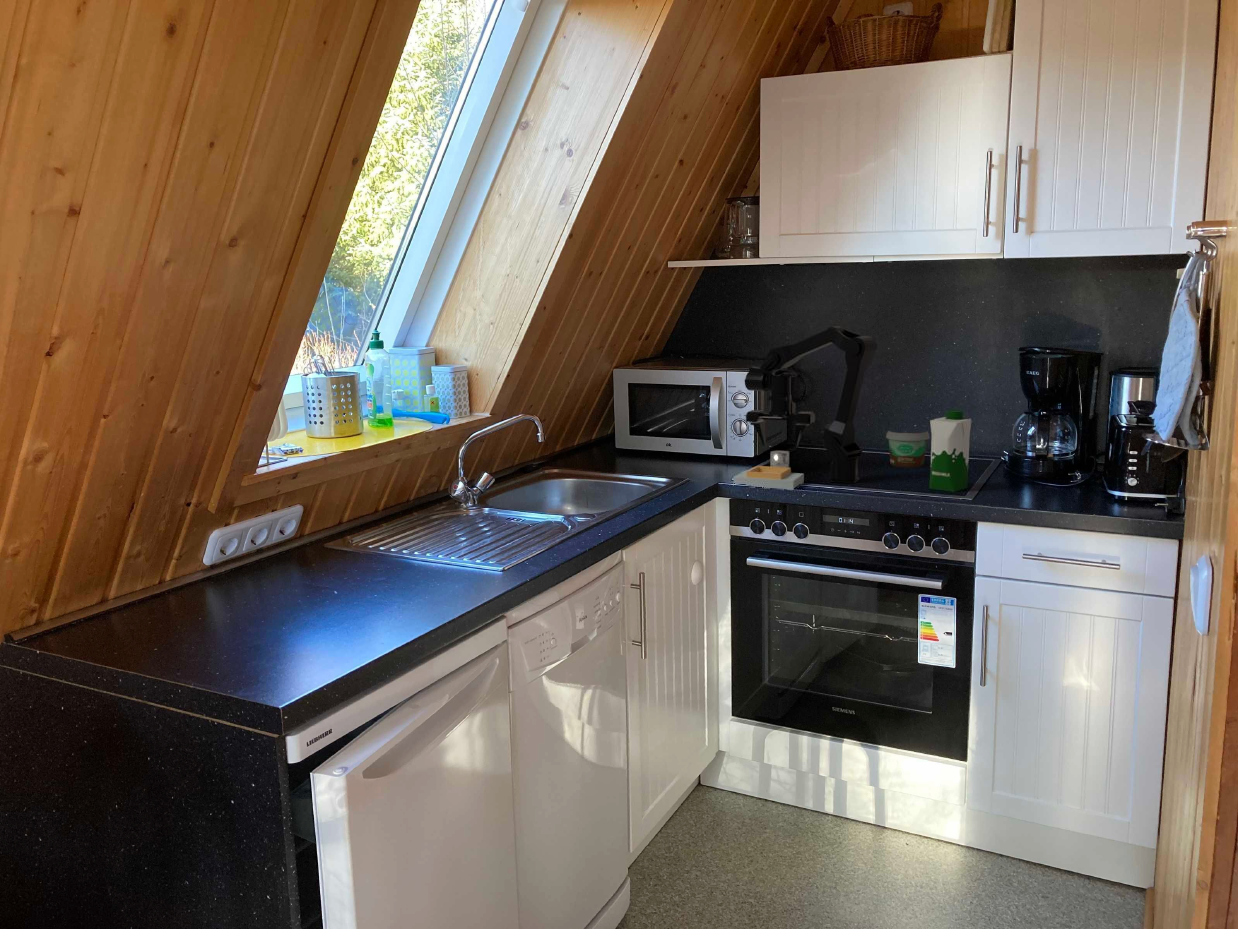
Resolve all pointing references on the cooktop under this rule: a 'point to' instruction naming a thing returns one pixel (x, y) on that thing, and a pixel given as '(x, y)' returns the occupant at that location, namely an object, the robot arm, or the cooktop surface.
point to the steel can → (779, 459)
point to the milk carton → (950, 452)
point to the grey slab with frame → (770, 477)
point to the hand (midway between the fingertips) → (780, 447)
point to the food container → (907, 448)
